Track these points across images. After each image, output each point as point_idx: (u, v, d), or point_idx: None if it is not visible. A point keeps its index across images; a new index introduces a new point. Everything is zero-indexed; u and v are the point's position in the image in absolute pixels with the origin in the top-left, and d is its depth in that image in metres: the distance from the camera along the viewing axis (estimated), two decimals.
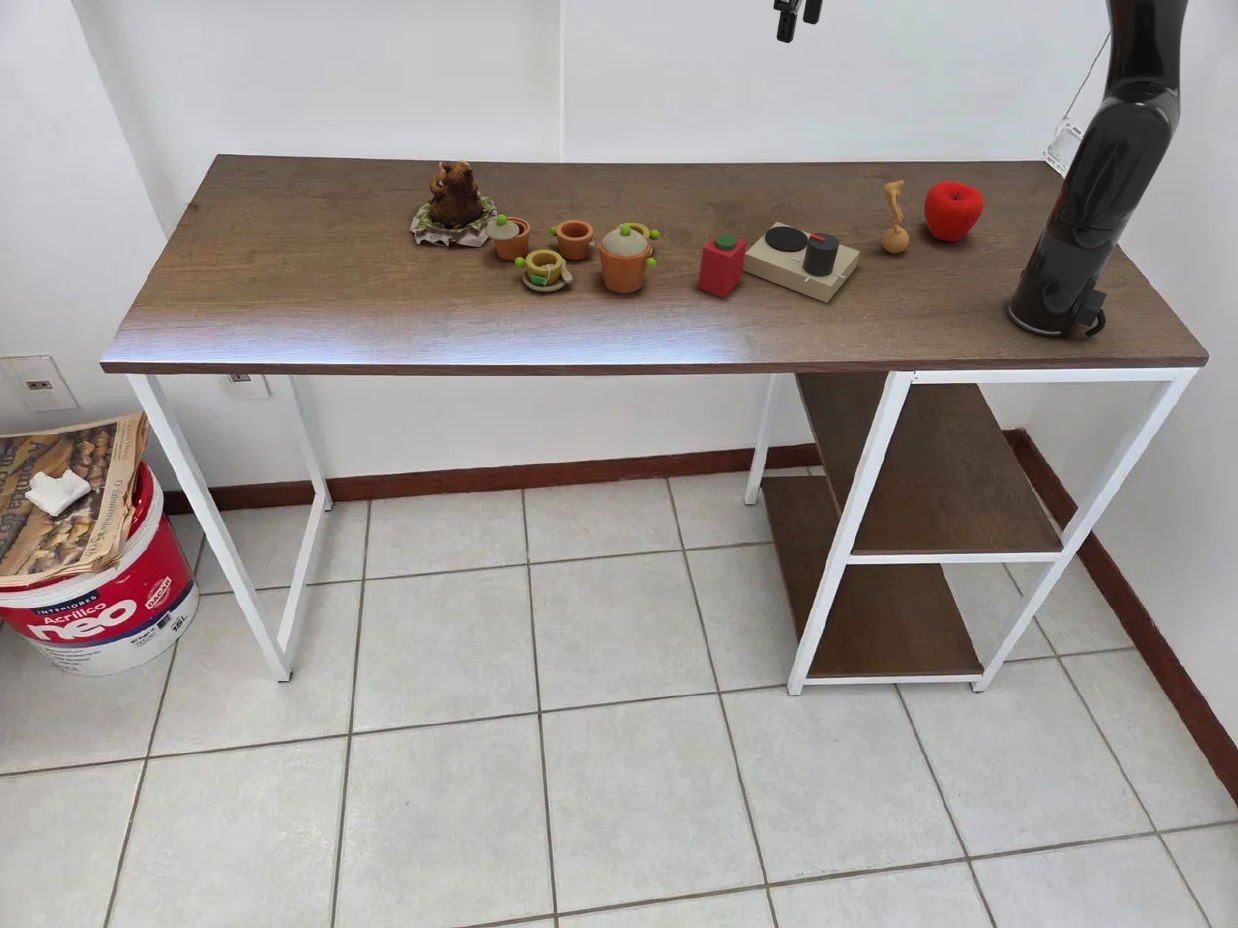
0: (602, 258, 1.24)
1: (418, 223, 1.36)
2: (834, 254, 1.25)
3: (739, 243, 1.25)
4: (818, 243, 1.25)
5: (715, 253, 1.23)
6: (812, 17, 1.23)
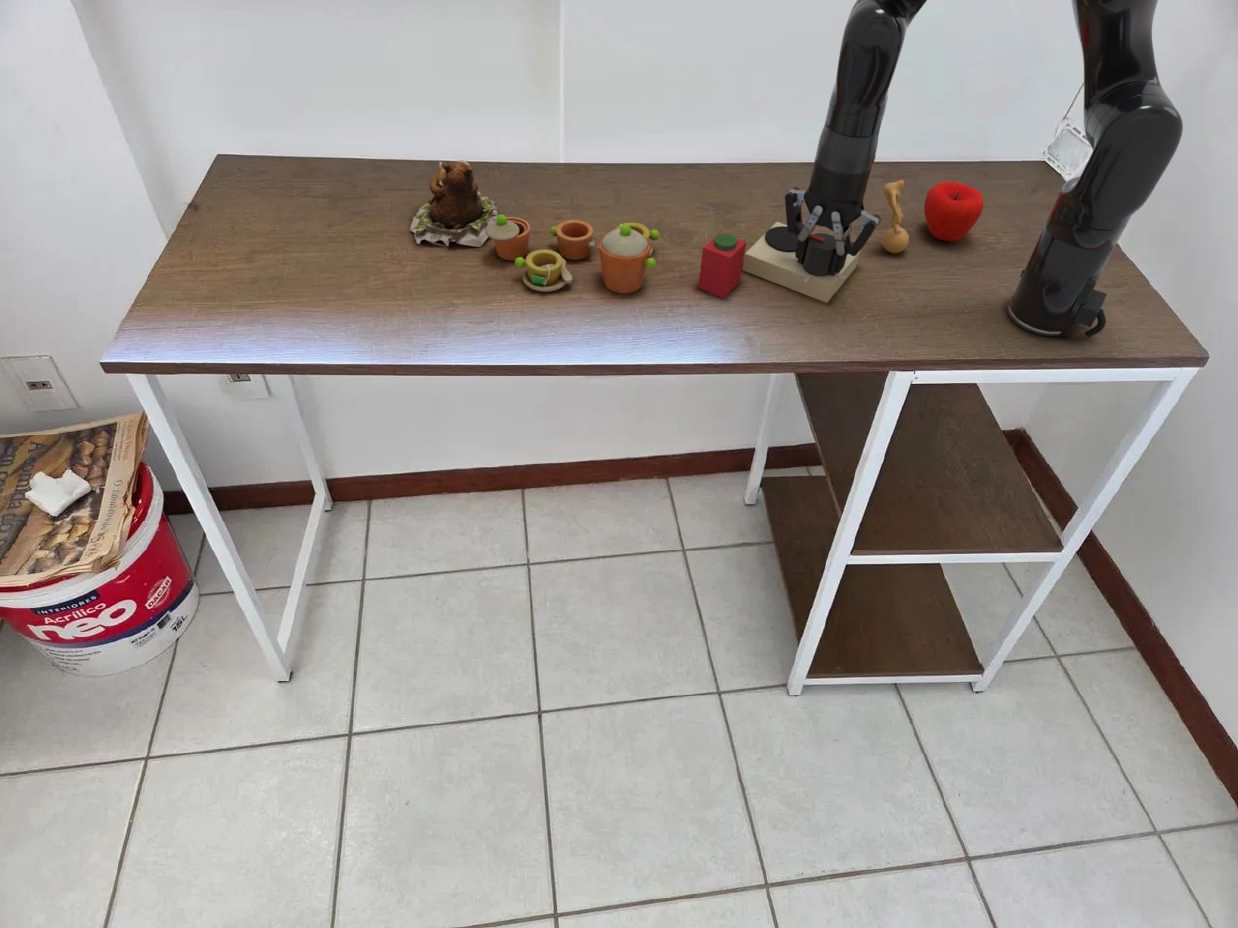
0: (602, 258, 1.24)
1: (418, 223, 1.36)
2: None
3: (739, 243, 1.25)
4: (818, 243, 1.25)
5: (715, 253, 1.23)
6: None
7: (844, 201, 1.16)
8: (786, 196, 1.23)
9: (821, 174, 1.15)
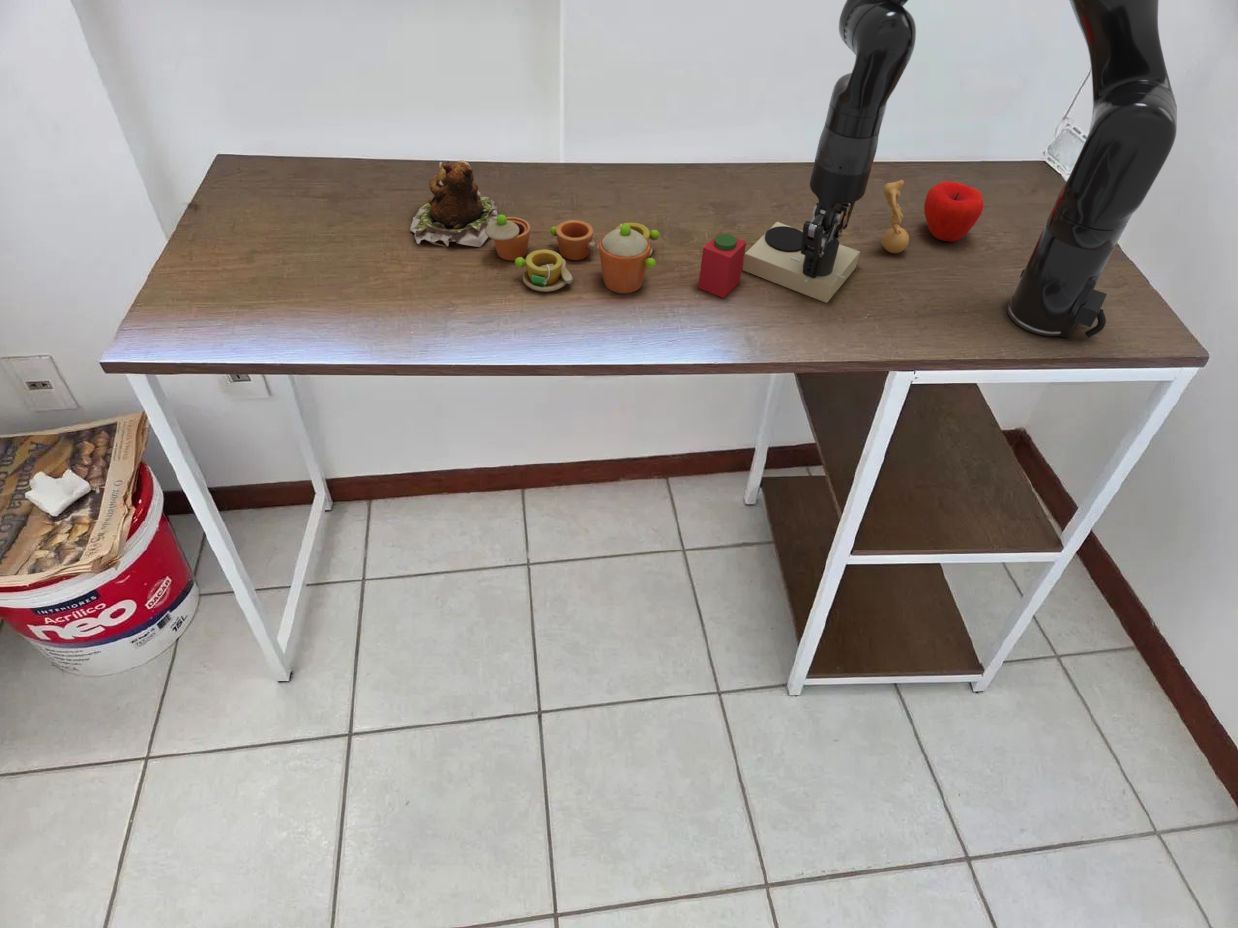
0: (602, 258, 1.24)
1: (418, 223, 1.36)
2: None
3: (739, 243, 1.25)
4: (828, 244, 1.25)
5: (715, 253, 1.23)
6: None
7: None
8: (820, 231, 1.17)
9: (861, 180, 1.15)
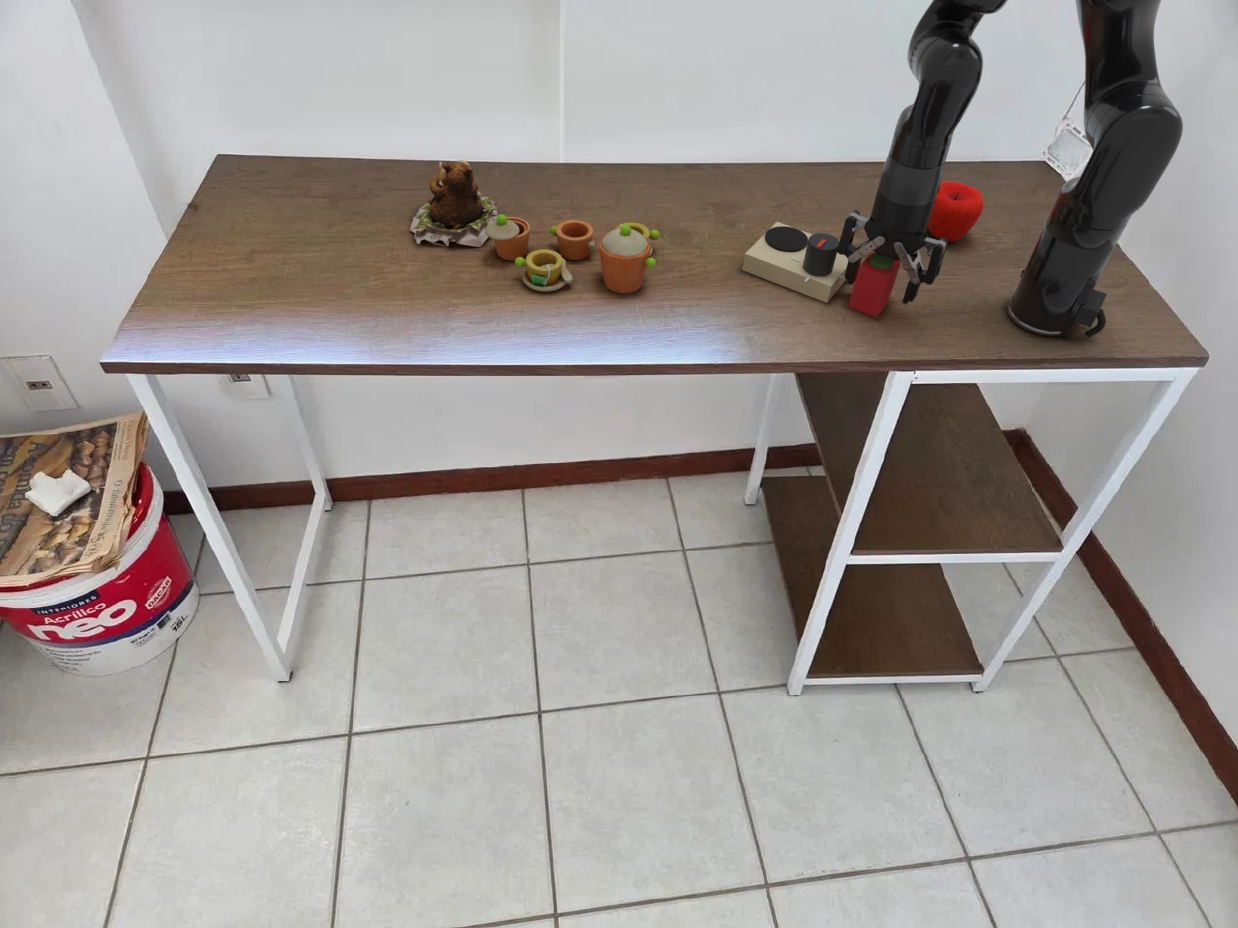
0: (602, 258, 1.24)
1: (418, 223, 1.36)
2: None
3: (894, 262, 1.23)
4: (828, 244, 1.25)
5: (872, 272, 1.22)
6: None
7: (908, 232, 1.15)
8: (847, 219, 1.20)
9: (885, 205, 1.14)
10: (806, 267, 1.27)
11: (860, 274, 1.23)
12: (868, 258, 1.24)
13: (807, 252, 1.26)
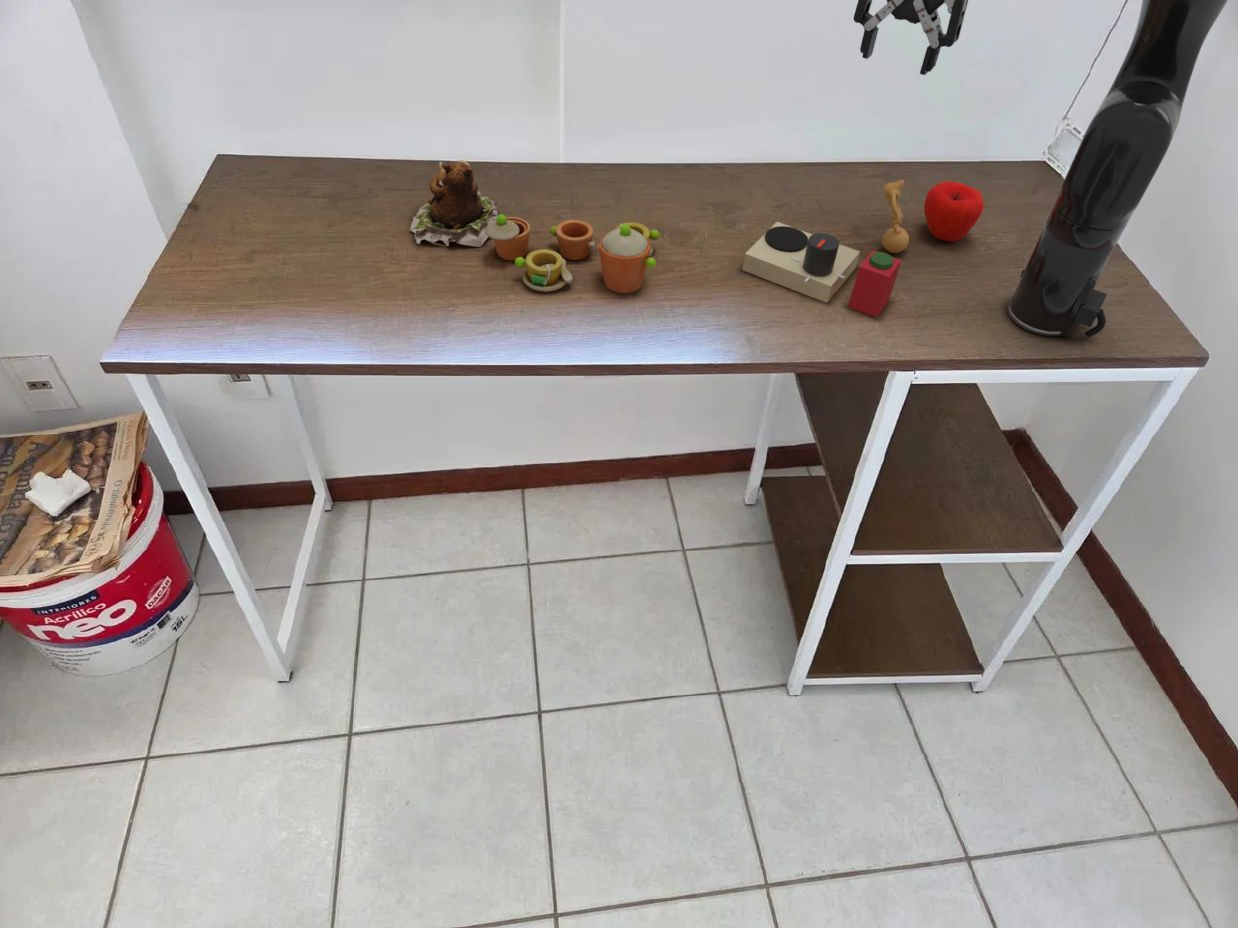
0: (602, 258, 1.24)
1: (418, 223, 1.36)
2: None
3: (894, 262, 1.23)
4: (828, 244, 1.25)
5: (872, 272, 1.22)
6: None
7: None
8: None
9: None
10: (806, 267, 1.27)
11: (860, 274, 1.23)
12: (868, 258, 1.24)
13: (807, 252, 1.26)
